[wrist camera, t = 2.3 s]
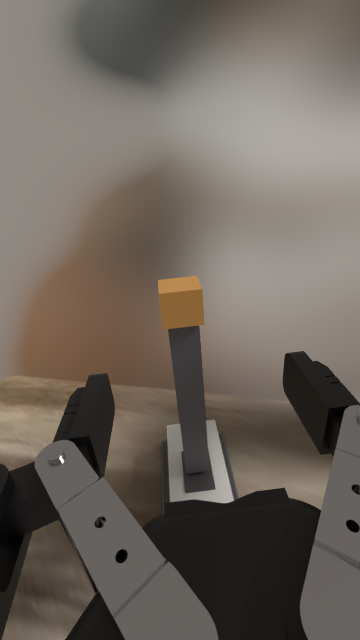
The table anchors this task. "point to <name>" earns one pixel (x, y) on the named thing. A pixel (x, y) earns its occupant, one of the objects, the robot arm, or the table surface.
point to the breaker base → (199, 484)
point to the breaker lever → (187, 364)
